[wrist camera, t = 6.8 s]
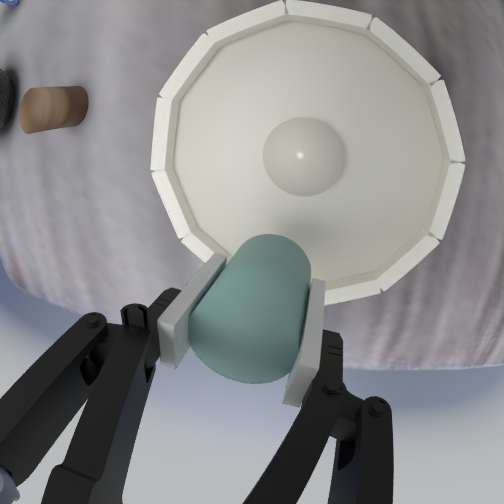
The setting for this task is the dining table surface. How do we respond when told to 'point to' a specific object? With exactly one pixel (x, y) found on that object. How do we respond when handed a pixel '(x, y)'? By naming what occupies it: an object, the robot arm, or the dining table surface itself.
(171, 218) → the round cream tray
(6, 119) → the planter
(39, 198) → the dining table surface
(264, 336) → the teal cylinder
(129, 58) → the dining table surface
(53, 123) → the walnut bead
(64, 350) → the robot arm
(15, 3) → the baby rattle
